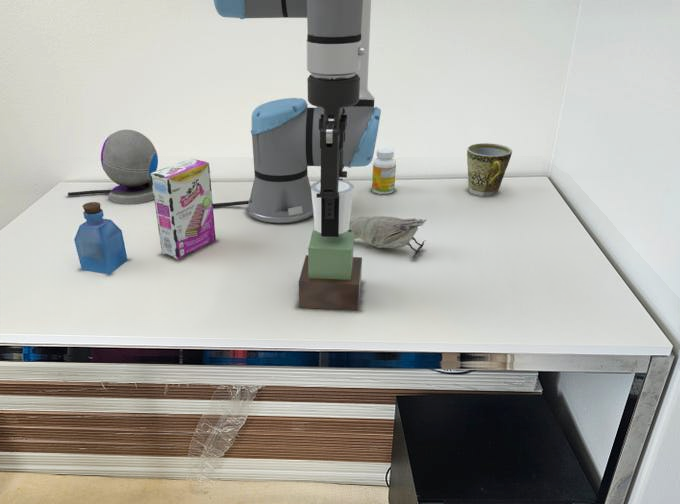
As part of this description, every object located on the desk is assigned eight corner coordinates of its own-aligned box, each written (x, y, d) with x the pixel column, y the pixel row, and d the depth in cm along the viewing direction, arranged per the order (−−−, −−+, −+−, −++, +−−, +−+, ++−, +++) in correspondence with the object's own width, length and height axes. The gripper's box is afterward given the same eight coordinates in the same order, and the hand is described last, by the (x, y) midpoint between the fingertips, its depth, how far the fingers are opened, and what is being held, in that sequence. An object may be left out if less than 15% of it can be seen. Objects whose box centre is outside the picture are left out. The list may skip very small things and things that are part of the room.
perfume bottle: (127, 260, 120) (115, 201, 113) (109, 274, 115) (96, 213, 108) (100, 256, 122) (87, 197, 115) (81, 269, 117) (66, 209, 110)
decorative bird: (351, 236, 127) (352, 202, 123) (426, 251, 121) (430, 215, 117) (340, 247, 123) (341, 211, 119) (418, 262, 118) (422, 225, 113)
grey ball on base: (121, 183, 156) (109, 122, 147) (169, 185, 154) (160, 123, 145) (100, 202, 145) (86, 137, 136) (152, 204, 144) (141, 139, 135)
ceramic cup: (456, 185, 151) (461, 144, 145) (495, 183, 152) (502, 142, 146) (473, 205, 141) (480, 161, 135) (516, 202, 141) (524, 159, 136)
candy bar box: (179, 261, 119) (167, 178, 110) (161, 255, 122) (148, 173, 112) (218, 241, 127) (210, 161, 117) (200, 235, 129) (191, 156, 120)
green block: (308, 278, 102) (308, 247, 99) (313, 259, 108) (312, 230, 105) (350, 280, 101) (351, 249, 98) (353, 261, 107) (354, 231, 104)
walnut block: (299, 307, 104) (298, 281, 101) (306, 279, 112) (305, 254, 109) (358, 310, 103) (359, 284, 100) (361, 282, 111) (362, 257, 108)
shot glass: (349, 237, 97) (350, 194, 93) (307, 234, 98) (306, 192, 94) (355, 221, 103) (356, 179, 99) (315, 218, 104) (315, 177, 100)
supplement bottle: (370, 187, 151) (371, 147, 145) (391, 186, 151) (394, 146, 146) (373, 195, 147) (376, 154, 141) (396, 194, 147) (399, 153, 141)
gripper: (356, 89, 79) (351, 253, 92) (363, 61, 95) (358, 204, 108) (298, 88, 80) (301, 251, 93) (315, 61, 96) (315, 203, 109)
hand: (331, 226), depth 100 cm, fingers closed on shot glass, 7 cm apart
